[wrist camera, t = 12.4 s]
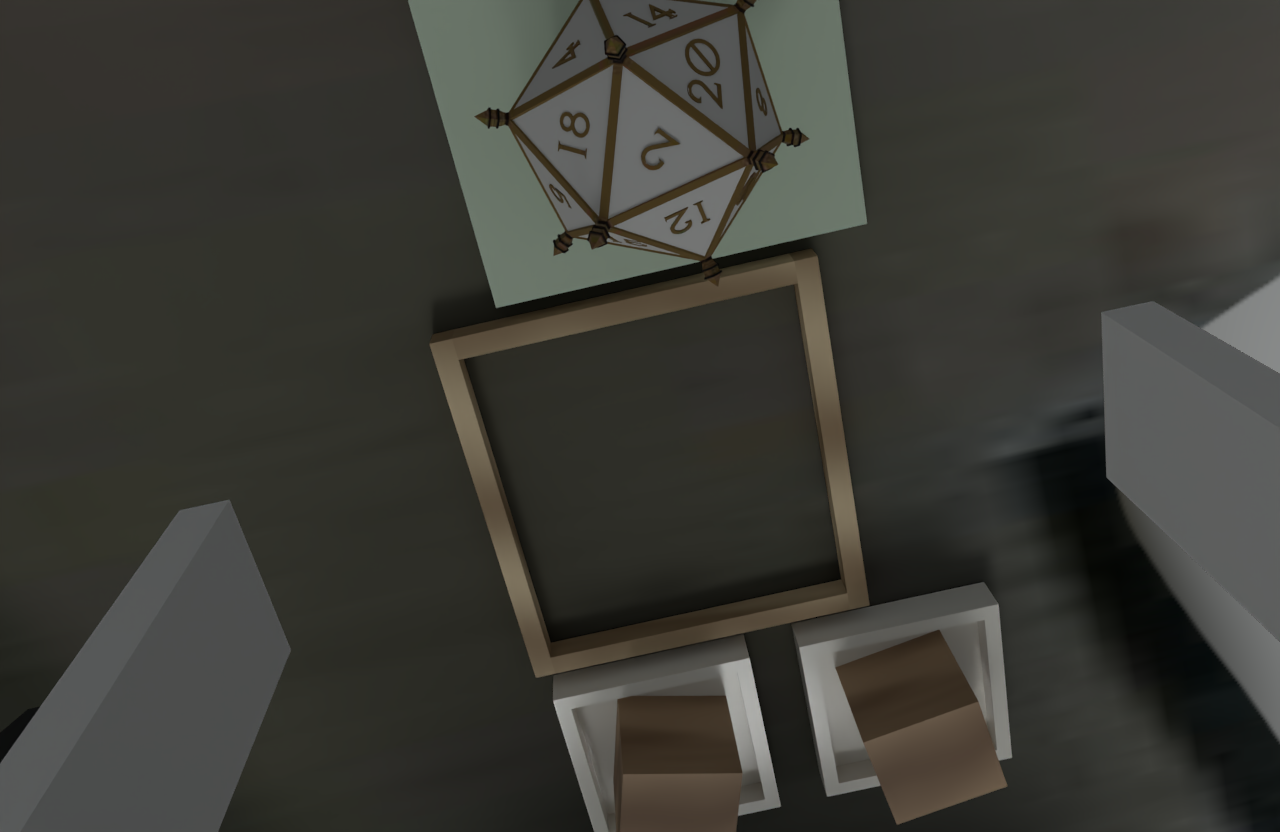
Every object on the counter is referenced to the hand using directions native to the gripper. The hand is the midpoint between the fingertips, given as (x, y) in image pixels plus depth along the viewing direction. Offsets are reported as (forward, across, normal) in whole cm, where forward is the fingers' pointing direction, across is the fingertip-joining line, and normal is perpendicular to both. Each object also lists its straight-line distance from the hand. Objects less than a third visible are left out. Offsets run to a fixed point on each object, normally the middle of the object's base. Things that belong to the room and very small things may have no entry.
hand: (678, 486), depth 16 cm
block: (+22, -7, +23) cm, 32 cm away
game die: (+21, -1, -3) cm, 21 cm away
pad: (+22, -2, -3) cm, 22 cm away
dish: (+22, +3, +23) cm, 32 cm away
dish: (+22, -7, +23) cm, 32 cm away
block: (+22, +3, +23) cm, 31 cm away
